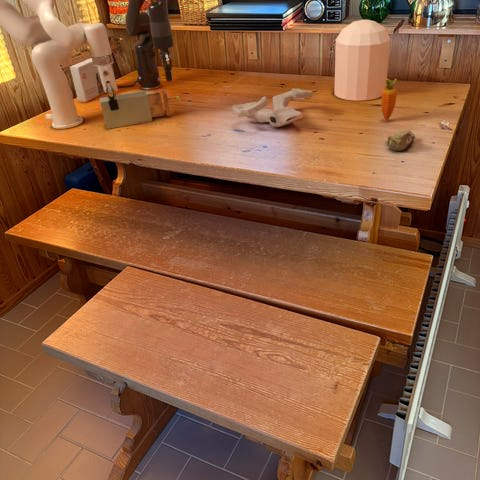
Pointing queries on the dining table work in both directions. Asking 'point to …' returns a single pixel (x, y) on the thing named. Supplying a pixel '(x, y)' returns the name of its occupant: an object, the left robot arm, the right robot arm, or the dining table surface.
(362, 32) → the container
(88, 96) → the skincare box
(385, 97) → the carrot
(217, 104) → the dining table surface
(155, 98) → the drawer
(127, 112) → the grey rectangular box
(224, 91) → the dining table surface
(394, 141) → the rock
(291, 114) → the beige branched piece
